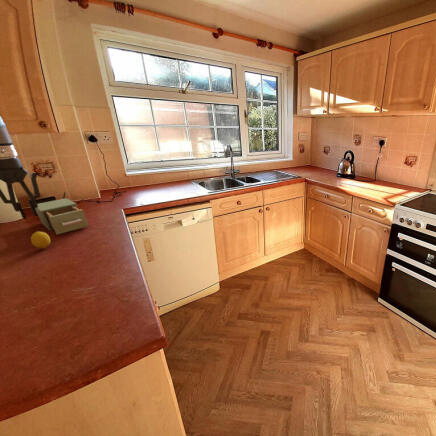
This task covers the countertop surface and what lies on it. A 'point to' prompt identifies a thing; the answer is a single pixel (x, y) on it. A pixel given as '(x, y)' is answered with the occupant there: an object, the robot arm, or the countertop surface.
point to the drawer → (66, 219)
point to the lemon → (40, 240)
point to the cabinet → (52, 206)
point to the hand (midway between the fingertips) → (30, 216)
